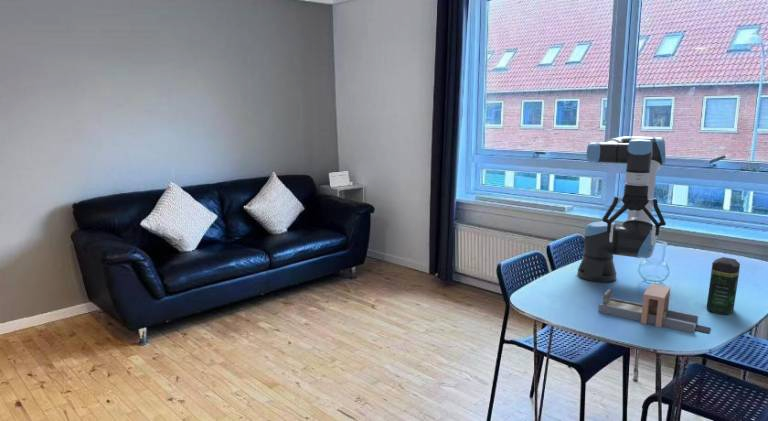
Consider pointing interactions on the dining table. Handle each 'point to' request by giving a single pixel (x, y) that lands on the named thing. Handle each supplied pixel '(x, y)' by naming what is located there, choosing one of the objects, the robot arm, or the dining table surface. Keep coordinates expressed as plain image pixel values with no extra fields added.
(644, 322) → the tunnel
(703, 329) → the dark grey flat block
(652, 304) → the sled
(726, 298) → the coffee jar
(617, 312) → the rail
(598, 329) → the dining table surface
